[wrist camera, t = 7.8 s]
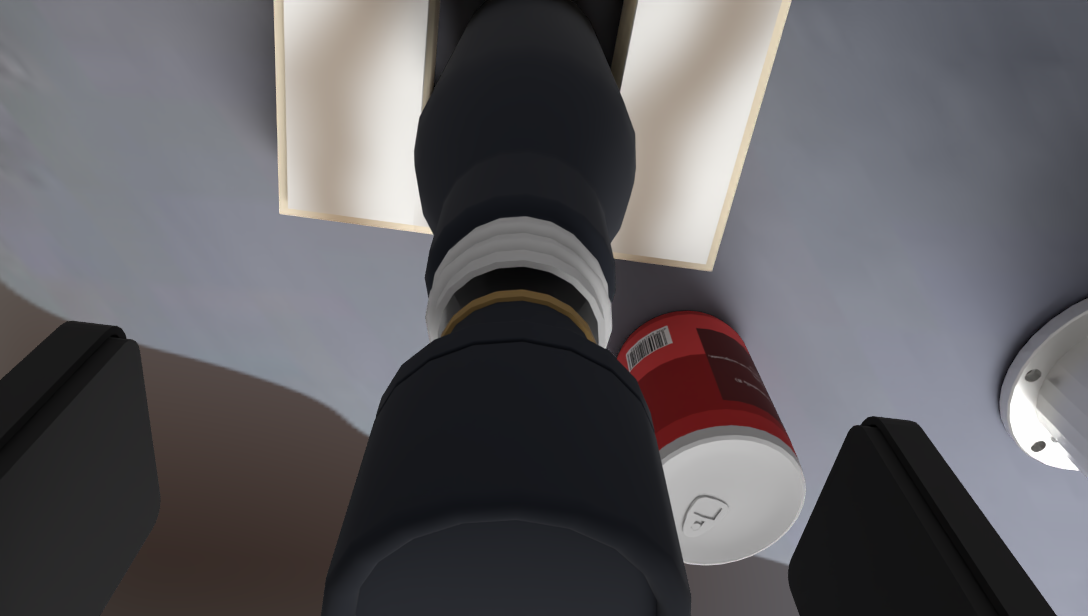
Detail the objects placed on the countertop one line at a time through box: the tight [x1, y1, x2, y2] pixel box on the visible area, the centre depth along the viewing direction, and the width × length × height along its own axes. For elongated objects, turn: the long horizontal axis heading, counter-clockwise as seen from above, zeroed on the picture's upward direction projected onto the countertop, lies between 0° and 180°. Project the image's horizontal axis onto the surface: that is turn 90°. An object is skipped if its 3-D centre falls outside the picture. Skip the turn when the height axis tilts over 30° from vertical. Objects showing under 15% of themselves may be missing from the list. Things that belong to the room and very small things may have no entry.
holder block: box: [274, 0, 792, 272], centre depth 32 cm, size 20×15×4 cm
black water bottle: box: [321, 0, 691, 616], centre depth 21 cm, size 6×6×30 cm
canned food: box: [617, 311, 806, 565], centre depth 37 cm, size 8×8×11 cm
